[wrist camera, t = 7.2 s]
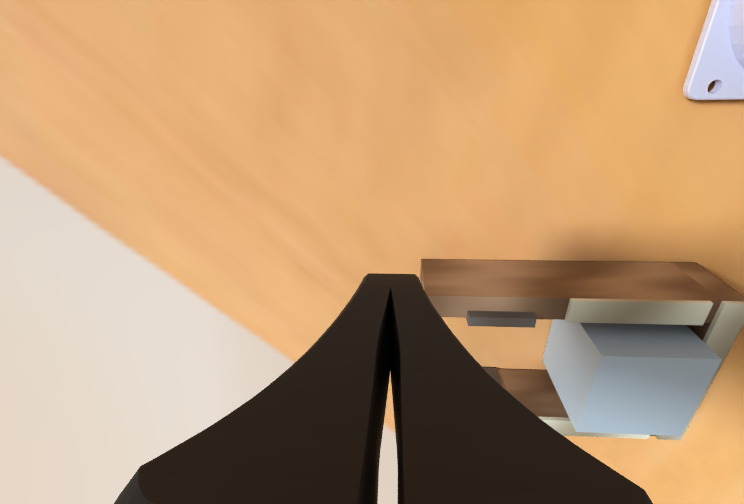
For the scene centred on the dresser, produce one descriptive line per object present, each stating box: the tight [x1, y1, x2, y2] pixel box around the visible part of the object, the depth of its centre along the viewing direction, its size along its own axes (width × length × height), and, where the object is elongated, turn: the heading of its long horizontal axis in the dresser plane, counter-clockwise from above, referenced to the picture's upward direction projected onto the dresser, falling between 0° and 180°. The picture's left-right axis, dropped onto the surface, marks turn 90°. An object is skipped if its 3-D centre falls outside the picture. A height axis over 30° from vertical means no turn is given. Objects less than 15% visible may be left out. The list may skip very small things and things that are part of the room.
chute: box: [420, 259, 744, 440], centre depth 21 cm, size 14×9×4 cm, turn 91°
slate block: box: [542, 319, 722, 436], centre depth 20 cm, size 5×5×5 cm
